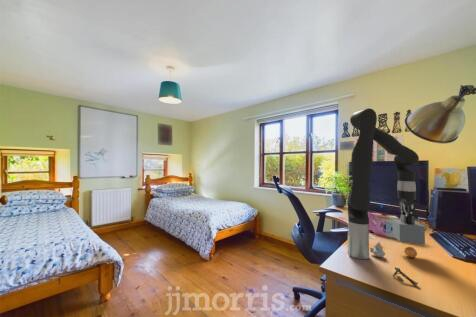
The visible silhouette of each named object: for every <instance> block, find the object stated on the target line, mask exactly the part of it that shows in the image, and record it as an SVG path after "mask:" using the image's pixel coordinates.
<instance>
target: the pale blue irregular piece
mask: <svg viewBox="0 0 476 317" xmlns="http://www.w3.org/2000/svg"><path fill="white" fill-rule="evenodd" d="M383 249H384V247H383V246H382V244H381V243H380V241H378V242H377V243H375V244H374V247H372V246H369V253H371V254H373V255H374V257H377V258H384V257H385V255H386V252H385V251H384V250H383Z"/></svg>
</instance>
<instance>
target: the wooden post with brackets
mask: <svg viewBox="0 0 476 317" xmlns="http://www.w3.org/2000/svg"><path fill="white" fill-rule="evenodd" d="M394 269H395V271H394V272H393V275H392V277H394V278H395V276H396V277H397V279H398V280H399V281H401V282H404V279H406V280H407V281H409V282H410V283H411V285H412V286H413V287H414V288H415V287H416V286H417V285H418V284H419V282H418V281H414V279H412V278H410V277H409V276H408V275H407V274H406V273H405V272H403V271H401V269H400V268H399V267H396V266H395V267H394ZM398 274H399V275H398ZM400 275H401V276H402V277H401V276H400ZM403 278H404V279H403Z"/></svg>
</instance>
